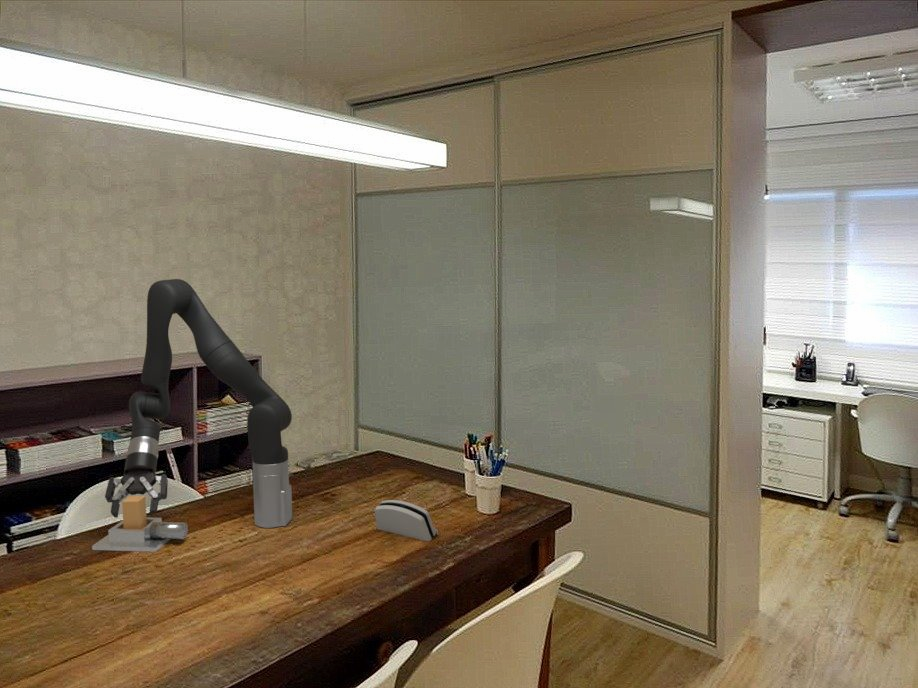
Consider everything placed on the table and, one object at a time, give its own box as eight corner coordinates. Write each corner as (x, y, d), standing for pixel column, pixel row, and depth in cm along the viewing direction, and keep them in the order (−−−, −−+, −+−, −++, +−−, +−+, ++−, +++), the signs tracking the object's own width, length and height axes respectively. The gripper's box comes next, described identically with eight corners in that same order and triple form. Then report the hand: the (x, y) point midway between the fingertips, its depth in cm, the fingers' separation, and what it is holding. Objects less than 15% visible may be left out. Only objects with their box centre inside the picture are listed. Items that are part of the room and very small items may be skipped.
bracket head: (195, 533, 184) (194, 514, 184) (173, 552, 172) (172, 532, 172) (118, 531, 186) (117, 512, 185) (92, 549, 174) (90, 530, 173)
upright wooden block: (147, 537, 181) (145, 496, 180) (140, 544, 177) (137, 501, 176) (132, 537, 181) (129, 496, 180) (124, 544, 177) (121, 501, 176)
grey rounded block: (439, 535, 183) (432, 503, 179) (430, 547, 180) (422, 515, 176) (387, 522, 192) (379, 492, 188) (377, 533, 188) (369, 503, 184)
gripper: (109, 452, 182) (98, 510, 173) (168, 449, 185) (161, 506, 175) (116, 466, 188) (106, 523, 178) (173, 463, 191) (166, 519, 181)
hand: (133, 515), depth 177 cm, fingers open, 8 cm apart
